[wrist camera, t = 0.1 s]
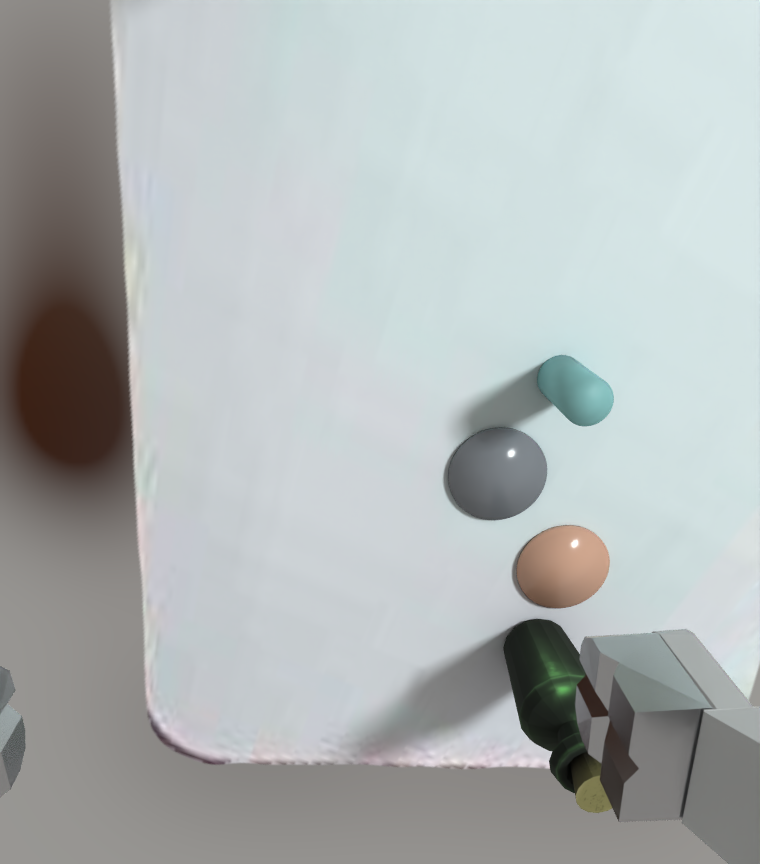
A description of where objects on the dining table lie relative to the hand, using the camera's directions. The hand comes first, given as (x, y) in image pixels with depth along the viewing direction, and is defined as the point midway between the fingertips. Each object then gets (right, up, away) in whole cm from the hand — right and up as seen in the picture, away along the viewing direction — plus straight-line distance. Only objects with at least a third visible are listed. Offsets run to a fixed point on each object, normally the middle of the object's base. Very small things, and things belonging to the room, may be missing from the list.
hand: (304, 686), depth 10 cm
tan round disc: (+19, -9, +56) cm, 60 cm away
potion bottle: (+17, -18, +59) cm, 64 cm away
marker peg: (+17, +8, +49) cm, 53 cm away
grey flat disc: (+12, 0, +52) cm, 53 cm away
